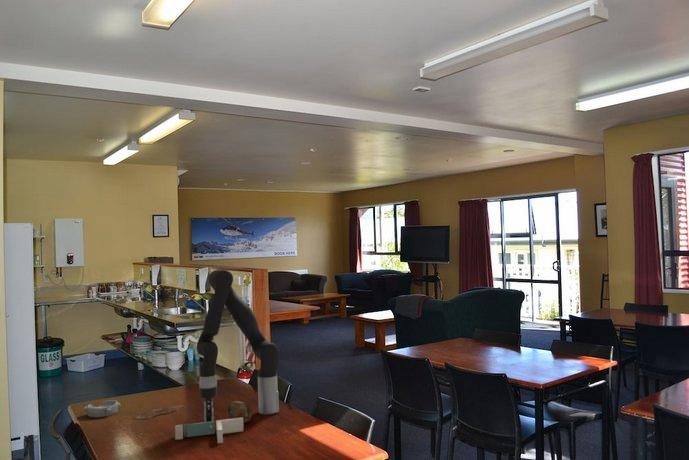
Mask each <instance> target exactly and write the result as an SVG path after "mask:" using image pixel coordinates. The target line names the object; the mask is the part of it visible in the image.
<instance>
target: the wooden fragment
mask: <svg viewBox="0 0 689 460" xmlns="http://www.w3.org/2000/svg"><path fill="white" fill-rule="evenodd" d="M183 406H184V405H183V404H180V405H174V406H167V407H162V408H161V407H160V408H156V409H151V410H148V411H147V412H144V413H142V414H139V416H138V415H137V416H135V417H134V420H149V419H151V418H154V417H158V416H161V415H165V414H170V413H173V412H177V411H179V409H180V408H181V407H183Z"/></svg>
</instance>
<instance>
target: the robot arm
mask: <svg viewBox="0 0 689 460" xmlns="http://www.w3.org/2000/svg"><path fill="white" fill-rule="evenodd" d="M208 283H209V285H210V287H211V288H212V289H213V291H214V293H213V294H214V295H213V298H212V301H211V303H210V305H209V307H208V310H207V311H206V315H205V318H204V323H203V327H202V331H201V334H200V335H199V338H198V340H197V344H196V352H197V354H199V356H202V362H201V363H200V364H199V380H198V381H199V385H198V388H199V397H200V398H202V399H204V400H203V406H204V409H205V412H206V422H210V421H212V411H213V412H214V408H213V407H214V406H213V405H214V399H213V398H214V397H216V396H217V395H218V388H217V387H218V386H217V384H218V383H217V380H218V379H217V376H216V375H217V374H216V372H217V369H216V368H217V367H216V365H217V361H218V360H217V359H218V354H219V347H218V345H217V343H216V342H215V341H213V340H214V338H215V336H217V335H218V334H219V331H220V326H221V322H222V316H223V313H224V309H227V311H228V312H229V315H230V316H231V318H232V319H233V320H234V322H235V324H236V326H237V327H238V328H239V329H240V331H241V333H242V334H243V336H244V337H245V338H246V339H247V341H248V343H249V346H250V347H251V349H252V351H253V353H254V355H255V357H256V358H257V359H258V360H260V368H259V369H258V370H257V391H258V393H257V394H258V398H257V399H258V400H257V401H258V413H259V414H260V415H273V414H277V413H279V412H280V407H279V405H280V403H279V401H280V399H279V391H278V389H279V388H278V370H279V360H280V359H279V357H280V355H279V349H278V346H277V345H276V344H275V343H273V342H270V341H268V340H267V339H266V338H265V336H264V334H262V332H261V330H260V328H259V324H258V321H257V320H258V319H257V317H256V315H255V313H254V312H253V310H252V309H251V307H250V306H249V305H248V303H247V302H246V301H245V300H244V298H242V297H241V296H240V295H238V293H237V292H236V291H235V290H234V289H233V287H232V285H233V283H234V276H233V274H232V272H231V271H229V270H228V269H216V270H215V269H214V270H213V271H211V272H210V274H209V276H208ZM207 413H211V414H207Z"/></svg>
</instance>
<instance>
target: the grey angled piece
mask: <svg viewBox="0 0 689 460" xmlns="http://www.w3.org/2000/svg"><path fill="white" fill-rule="evenodd" d="M174 429H175V432H174V434H175V435H174V438H175V440H183V439H184V423H182V424H177V425H176V424H175V425H174ZM238 432H239V433H240V432H244V423H243V417H241V418H232V419H231V418H225V419H218V420H215V435H216V439H217V444H223V443H224V437H223V436H224V434H231V433H238Z"/></svg>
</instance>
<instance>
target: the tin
mask: <svg viewBox="0 0 689 460" xmlns="http://www.w3.org/2000/svg"><path fill="white" fill-rule="evenodd" d="M227 409H228V410H227V411H228V416H229V417H230V418H229V419H232V418H241V417H243V424H245V423H247V422H250V421H251V420H252V415H253V412H252V411H253V410H252V408H251V405H250V404H249V403H246V402H242V401H239V400H235V401H231V402H230V403H229V405H228V408H227Z"/></svg>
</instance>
